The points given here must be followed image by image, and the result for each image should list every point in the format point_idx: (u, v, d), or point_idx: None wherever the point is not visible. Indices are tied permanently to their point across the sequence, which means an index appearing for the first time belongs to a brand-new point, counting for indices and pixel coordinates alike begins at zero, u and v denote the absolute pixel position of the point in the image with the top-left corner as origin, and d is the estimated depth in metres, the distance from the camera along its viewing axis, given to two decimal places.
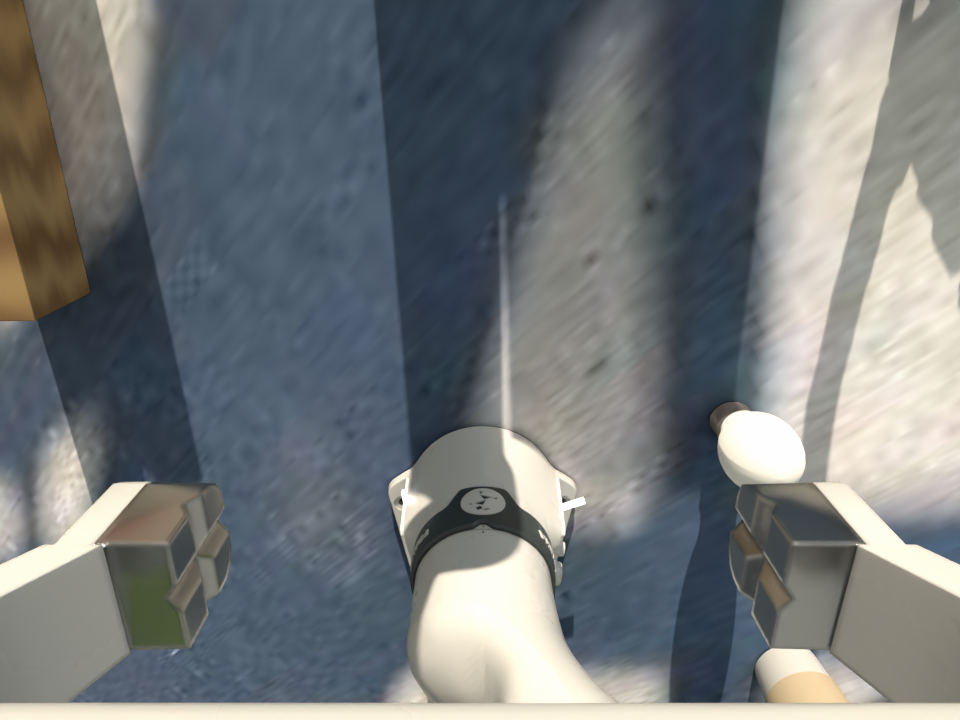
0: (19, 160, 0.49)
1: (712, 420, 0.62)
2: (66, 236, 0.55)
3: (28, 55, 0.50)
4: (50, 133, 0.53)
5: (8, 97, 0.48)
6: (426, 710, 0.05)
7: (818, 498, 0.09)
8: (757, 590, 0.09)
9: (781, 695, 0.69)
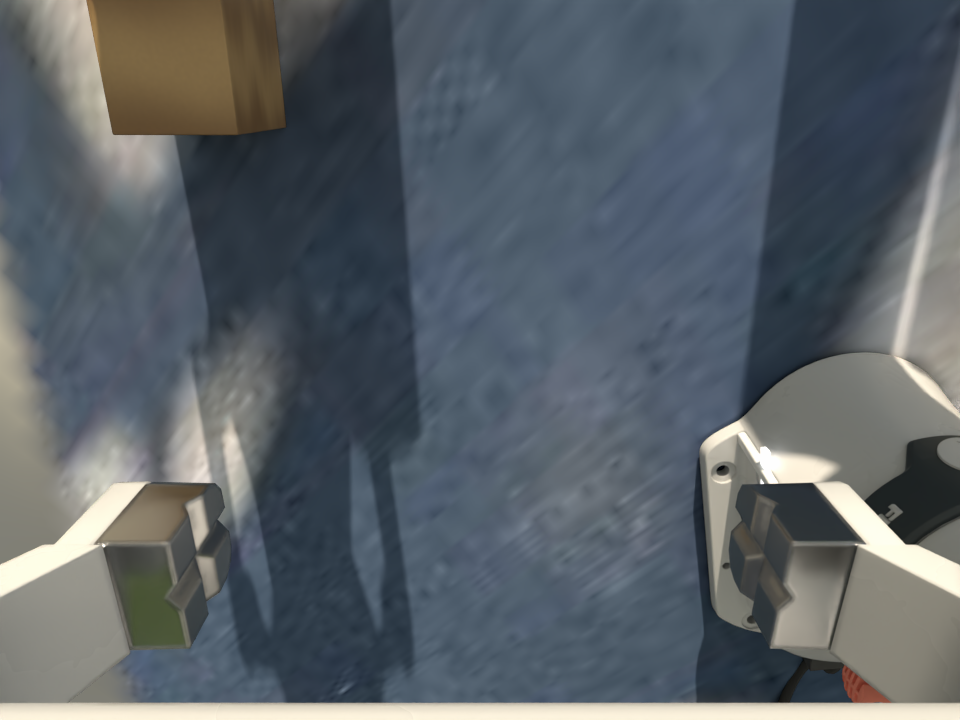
0: None
1: None
2: (266, 16, 0.33)
3: None
4: None
5: None
6: (426, 710, 0.05)
7: (818, 498, 0.09)
8: (757, 590, 0.09)
9: None
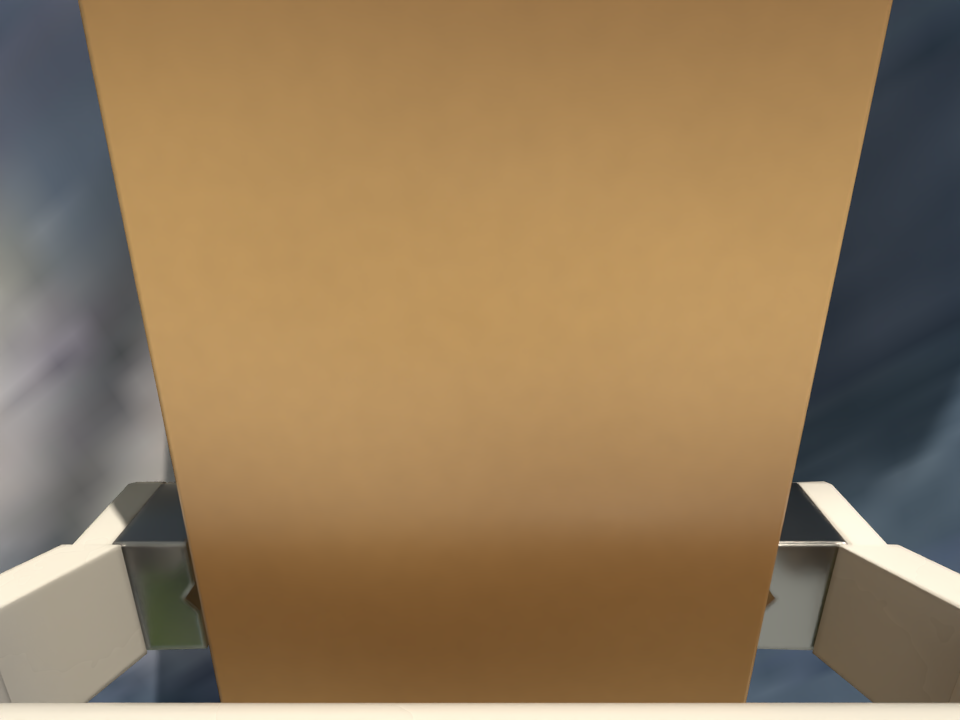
0: None
1: None
2: None
3: None
4: None
5: None
6: (426, 710, 0.05)
7: (801, 498, 0.09)
8: None
9: None
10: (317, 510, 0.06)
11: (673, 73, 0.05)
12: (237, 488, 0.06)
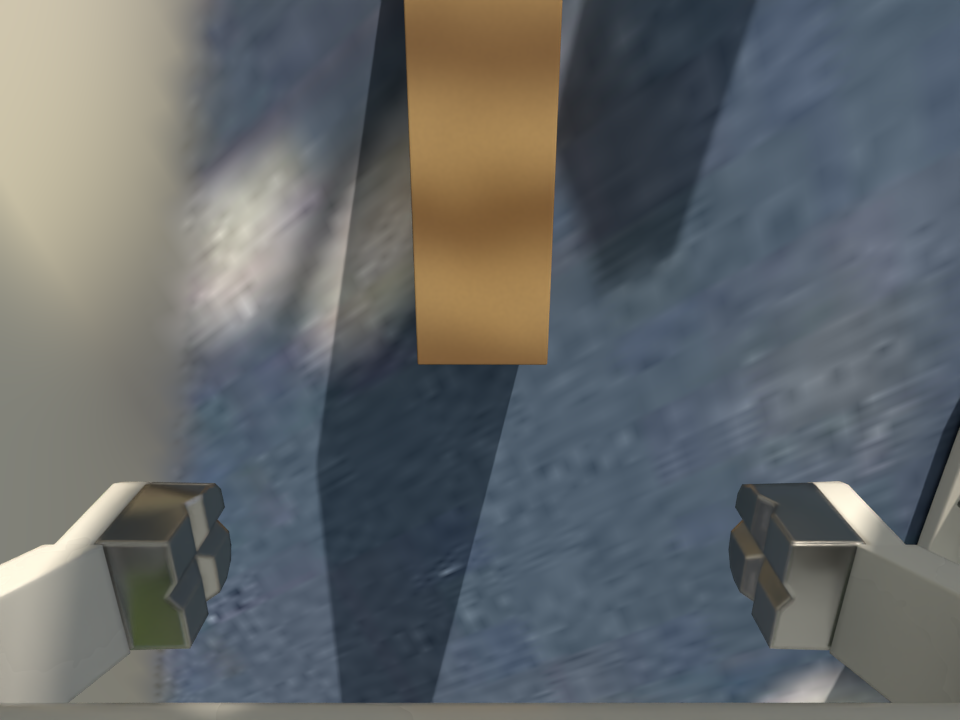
0: None
1: None
2: None
3: None
4: None
5: None
6: (426, 710, 0.05)
7: (818, 498, 0.09)
8: (757, 590, 0.09)
9: None
10: (443, 195, 0.25)
11: (518, 94, 0.24)
12: (425, 189, 0.25)
